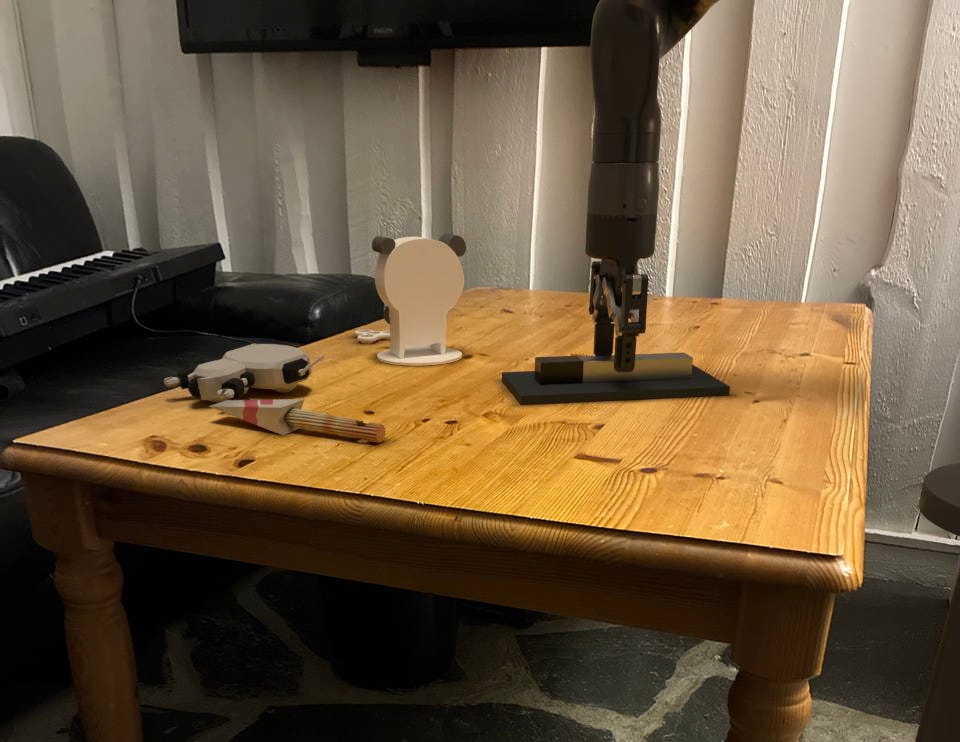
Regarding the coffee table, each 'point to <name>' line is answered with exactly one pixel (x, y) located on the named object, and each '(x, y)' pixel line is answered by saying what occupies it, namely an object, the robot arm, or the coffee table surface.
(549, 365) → the black-tipped grey bar
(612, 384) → the mat
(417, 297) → the panda figurine
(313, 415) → the paintbrush
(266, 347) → the robot toy
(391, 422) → the coffee table surface
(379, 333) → the fidget spinner
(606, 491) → the coffee table surface
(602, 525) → the coffee table surface
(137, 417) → the coffee table surface
